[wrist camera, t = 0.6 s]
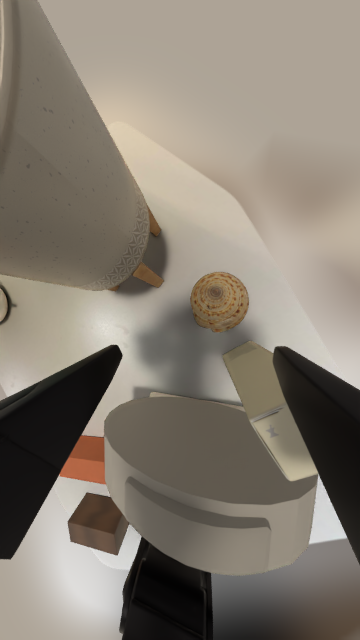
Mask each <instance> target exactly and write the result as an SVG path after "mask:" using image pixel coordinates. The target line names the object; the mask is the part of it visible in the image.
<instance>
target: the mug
mask: <svg viewBox="0 0 360 640" xmlns="http://www.w3.org/2000/svg"><path fill="white" fill-rule="evenodd" d="M7 307H8V305H7V299H6V296H5V294H4V292H3V291H2V290H1V288H0V322H1V321H2V320H3V319H4V317H5V315H6V313H7Z"/></svg>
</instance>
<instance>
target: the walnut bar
mask: <svg viewBox="0 0 360 640" xmlns="http://www.w3.org/2000/svg"><path fill="white" fill-rule="evenodd" d="M128 525H129V522H128V521H127V520H126V518H125V516H124V515H123V513H122V512H121V511H120V509H119V508H118V507H117V505H116V504H115V503H114V501H113V500H112V498H110V497H105V496H100V495H95V494H90V493H86V495H85V496H84V498H83V499H82V501H81V502H80V504H79V505H78V507H77V508H76V510H75V511H74V513H73V514H72V516H71V517H70V519H69V521H68V528H69V534H70V540H71V542H74V543H77V544H81V545H84V546H87V547H91V548H94V549H97V550H100V551H104V552H107V553H110V554H114V555H118V553H119V550H120V547H121V545H122V542H123V539H124V536H125V534H126V531H127V528H128Z"/></svg>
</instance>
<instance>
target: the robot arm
mask: <svg viewBox="0 0 360 640" xmlns="http://www.w3.org/2000/svg"><path fill="white" fill-rule="evenodd" d="M121 359H122V353H121V351H120V348H119V347H118V345H110V346H108V347H106V348H104V349H102V350H100V351H98V352H96V353H94V354H92V355H90V356H88V357H87V358H85V359H83V360H81V361H79V362H77V363H75V364H73V365H71V366H69V367H67V368H65V369H63V370H61V371H59V372H57V373H55V374H53V375H51V376H49V377H47V378H45V379H43V380H42V381H40V382H38V383H36V384H34V385H32V386H30V387H28V388H26V389H24V390H22V391H20V392H18V393H16V394H14V395H12V396H9V397H7V398H5V399H3V400H1V401H0V559H11V558H12V557H13V555H14V554H15V552H16V550H17V549H18V547H19V546H20V544H21V542H22V540H23V538H24V537H25V535H26V533H27V531H28V529H29V528H30V526H31V524H32V522H33V521H34V519H35V517H36V515H37V513H38V512H39V510H40V508H41V506H42V504H43V502H44V501H45V499H46V497H47V496H48V494H49V492H50V490H51V488H52V487H53V485H54V483H55V481H56V479H57V478H58V476H59V474H60V472H61V470H62V468H63V467H64V465H65V463H66V461H67V459H68V458H69V456H70V454H71V452H72V451H73V449H74V447H75V445H76V443H77V442H78V440H79V438H80V436H81V435H82V433H83V431H84V429H85V427H86V426H87V424H88V422H89V420H90V418H91V417H92V415H93V413H94V411H95V410H96V408H97V406H98V404H99V402H100V401H101V399H102V397H103V395H104V393H105V392H106V390H107V388H108V386H109V385H110V383H111V381H112V379H113V377H114V375H115V373H116V370H117V368H118V366H119V364H120V361H121ZM272 362H273V366H274V369H275V372H276V375H277V378H278V381H279V384H280V387H281V390H282V393H283V396H284V398H285V401H286V403H287V405H288V407H289V410H290V412H291V414H292V416H293V418H294V421H295V423H296V425H297V427H298V429H299V432H300V434H301V436H302V438H303V441H304V443H305V445H306V447H307V449H308V452H309V454H310V456H311V458H312V460H313V463H314V465H315V467H316V469H317V471H318V474H319V476H320V478H321V480H322V482H323V485H324V487H325V489H326V491H327V494H328V496H329V498H330V500H331V502H332V505H333V507H334V509H335V511H336V513H337V516H338V518H339V520H340V522H341V524H342V527H343V529H344V531H345V533H346V536H347V538H348V540H349V542H350V544H351V546H352V549H353V551H354V553H355V555H356V558H357V560H358V562H359V564H360V390H359V389H357V388H355V387H354V386H352V385H350V384H348V383H347V382H345V381H343V380H342V379H340V378H338V377H337V376H335V375H333V374H332V373H330V372H328V371H327V370H325V369H323V368H322V367H320V366H318V365H317V364H315V363H313V362H312V361H310V360H308V359H307V358H305V357H303V356H301V355H300V354H298V353H296V352H295V351H293V350H291V349H290V348H288V347H285V346H277V347H275V349H274V354H273V359H272ZM211 588H212V587H211V573H210V572H206V571H203V570H200V569H196V568H193V567H190V566H186V565H184V564H183V563H181V562H179V561H177V560H175V559H173V558H172V557H170V556H168V555H166V554H164V553H163V552H161V551H160V550H159V549H157V548H156V547H155V546H154V545H152V544H151V543H150V542H148V541H147V540H146V539H145V538H143V537H141V541H140V544H139V548H138V551H137V554H136V557H135V559H134V562H133V564H132V566H131V569H130V571H129V574H128V576H127V579H126V581H125V584H124V588H123V602H124V603H123V608H122V616H121V622H120V629H119V631H120V633H122V634H123V637H122V640H213V614H212V613H213V611H212V589H211Z"/></svg>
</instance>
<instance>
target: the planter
mask: <svg viewBox="0 0 360 640" xmlns="http://www.w3.org/2000/svg"><path fill="white" fill-rule="evenodd" d="M149 231H150V232H152V233H153V234H154V235H155V236H157V235H158V234H159V232H160V231H161V229H160V227H159V225H158V223H157V222H156V220H155V218H154V216H153V214H152V213H151V211H150V209H149V207H148V205H147V203H146V201H145V199H144V196H143V194H142V192H141V190H140V188H139V187H138V185H137V183H136V181H135V179H134V177H133V176H132V174H131V172H130V170H129V168H128V166H127V164H126V163H125V161H124V159H123V157H122V155H121V153H120V152H119V150H118V148H117V146H116V144H115V142H114V141H113V139H112V137H111V135H110V133H109V131H108V130H107V128H106V126H105V124H104V122H103V120H102V119H101V117H100V115H99V113H98V112H97V109H96V107H95V106H94V104H93V102H92V100H91V99H90V97H89V95H88V93H87V91H86V89H85V87H84V85H83V83H82V82H81V80H80V78H79V76H78V74H77V72H76V71H75V69H74V67H73V65H72V64H71V62H70V60H69V58H68V56H67V54H66V52H65V51H64V48H63V47H62V45H61V43H60V41H59V39H58V38H57V36H56V34H55V32H54V30H53V28H52V26H51V25H50V23H49V21H48V19H47V17H46V15H45V14H44V12H43V10H42V8H41V6H40V4H39V2H38V1H37V0H0V274H1V275H7V276H12V277H18V278H24V279H29V280H35V281H40V282H46V283H51V284H57V285H63V286H68V287H74V288H79V289H85V290H92V291H102V290H111V291H115V292H116V290H117V289H118V288H119V284H120V283H122V282H123V281H125V280H126V279H127V278H128V277H129V276H130V275H131V274H132V275H133V276H135V277H137V278H139V279H141V280H143V281H145V282H147V283H149V284H151V285H153V286H155V287H157V288H159V286H160V285H161V284H162V283H163V281H164V280H163V279H161V278H160V277H159V276H158V275H157V274H156V273H154V272H153V271H152V270H151V269H149V268H148V267H147V266H146V265H145V264H143V263H142V262H141V260H142V258H143V255H144V253H145V250H146V247H147V244H148V239H149Z"/></svg>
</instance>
